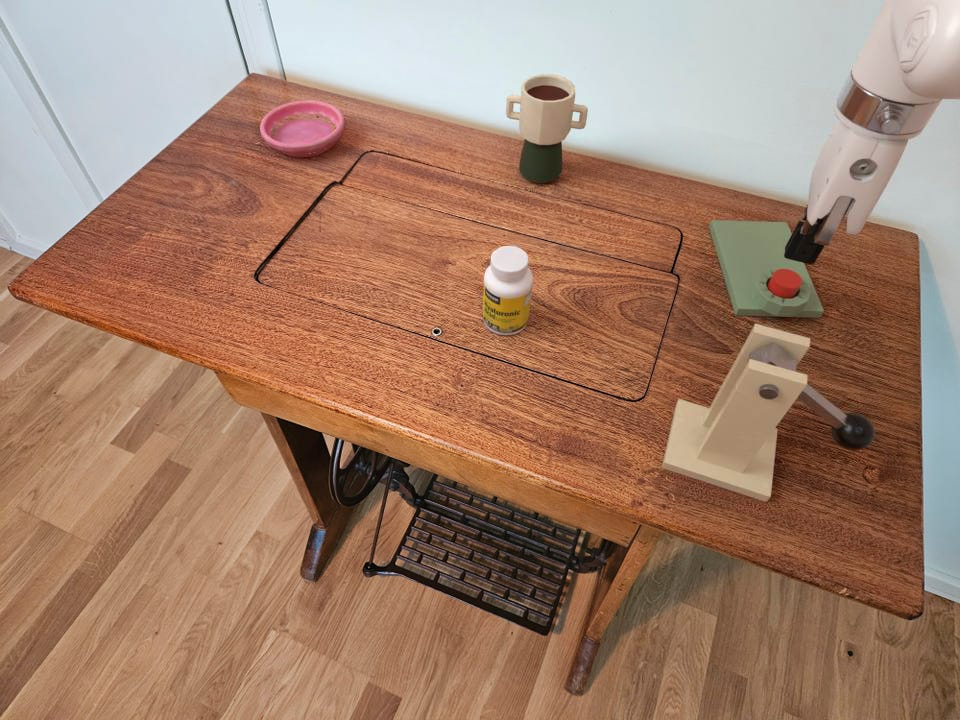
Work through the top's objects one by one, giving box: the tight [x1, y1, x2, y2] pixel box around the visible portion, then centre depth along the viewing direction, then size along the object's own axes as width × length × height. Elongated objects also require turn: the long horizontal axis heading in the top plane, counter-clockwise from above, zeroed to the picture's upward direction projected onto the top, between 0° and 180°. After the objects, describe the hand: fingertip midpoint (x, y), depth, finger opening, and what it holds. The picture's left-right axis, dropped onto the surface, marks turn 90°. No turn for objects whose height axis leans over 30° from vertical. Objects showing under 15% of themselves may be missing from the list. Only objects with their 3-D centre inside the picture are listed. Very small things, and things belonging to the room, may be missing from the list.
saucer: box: [259, 99, 346, 158], centre depth 93 cm, size 12×12×3 cm
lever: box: [748, 342, 876, 451], centre depth 52 cm, size 13×3×3 cm, turn 69°
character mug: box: [505, 73, 589, 184], centre depth 85 cm, size 11×7×13 cm, turn 75°
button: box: [768, 269, 802, 299], centre depth 72 cm, size 3×3×2 cm
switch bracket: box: [661, 323, 811, 503], centre depth 56 cm, size 10×8×16 cm
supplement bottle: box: [482, 245, 534, 336], centre depth 69 cm, size 5×5×10 cm
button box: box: [708, 219, 825, 319], centre depth 77 cm, size 17×10×3 cm, turn 178°
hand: (798, 256), depth 69 cm, fingers closed
